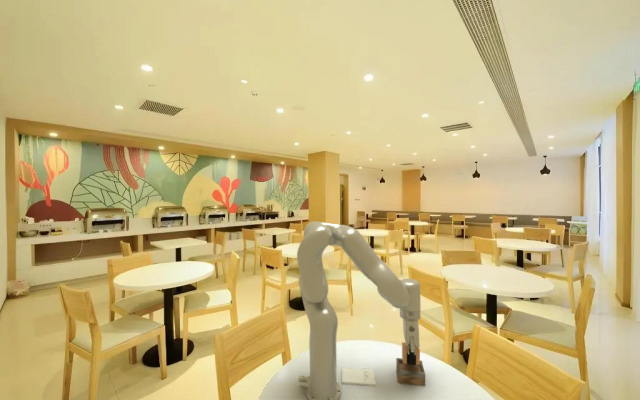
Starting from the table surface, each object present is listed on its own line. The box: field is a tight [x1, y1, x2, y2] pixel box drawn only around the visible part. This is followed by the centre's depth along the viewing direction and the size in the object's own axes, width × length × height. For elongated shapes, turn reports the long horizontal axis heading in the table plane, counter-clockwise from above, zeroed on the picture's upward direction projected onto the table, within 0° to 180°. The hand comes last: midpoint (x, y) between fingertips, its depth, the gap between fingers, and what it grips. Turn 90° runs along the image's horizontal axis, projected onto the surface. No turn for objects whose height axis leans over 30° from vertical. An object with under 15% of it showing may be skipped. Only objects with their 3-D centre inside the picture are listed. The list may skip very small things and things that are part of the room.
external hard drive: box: [341, 367, 377, 387], centre depth 104 cm, size 2×8×12 cm
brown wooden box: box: [395, 357, 426, 387], centre depth 104 cm, size 10×8×4 cm
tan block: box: [401, 341, 421, 365], centre depth 104 cm, size 6×4×6 cm
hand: (410, 359), depth 104 cm, fingers closed on tan block, 4 cm apart
